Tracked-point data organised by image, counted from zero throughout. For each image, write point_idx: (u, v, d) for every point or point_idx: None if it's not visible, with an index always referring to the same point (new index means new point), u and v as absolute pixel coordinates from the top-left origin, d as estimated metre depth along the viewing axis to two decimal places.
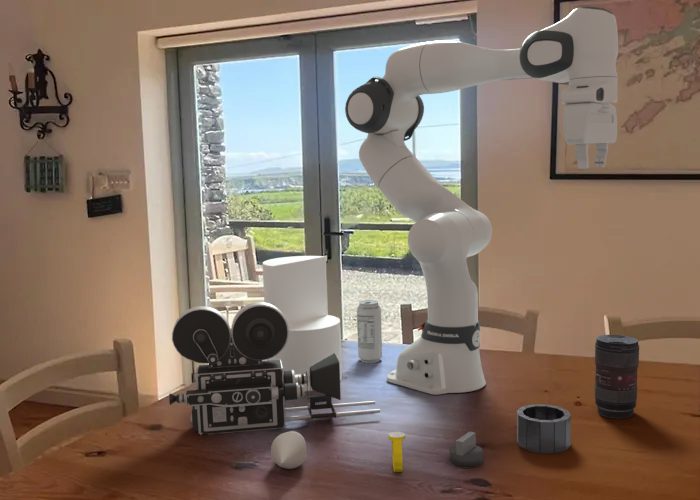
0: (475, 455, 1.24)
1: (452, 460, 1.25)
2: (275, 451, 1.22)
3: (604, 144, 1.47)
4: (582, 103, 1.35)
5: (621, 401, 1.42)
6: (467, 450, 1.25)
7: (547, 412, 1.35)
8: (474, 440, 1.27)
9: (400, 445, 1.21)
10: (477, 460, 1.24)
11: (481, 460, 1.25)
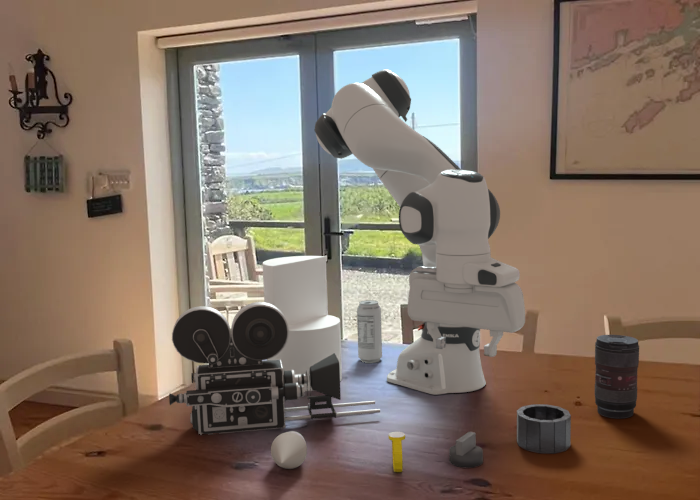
0: (475, 455, 1.24)
1: (452, 460, 1.25)
2: (275, 451, 1.22)
3: None
4: (512, 284, 1.18)
5: (621, 401, 1.42)
6: (467, 450, 1.25)
7: (547, 412, 1.35)
8: (474, 440, 1.27)
9: (400, 445, 1.21)
10: (477, 460, 1.24)
11: (481, 460, 1.25)
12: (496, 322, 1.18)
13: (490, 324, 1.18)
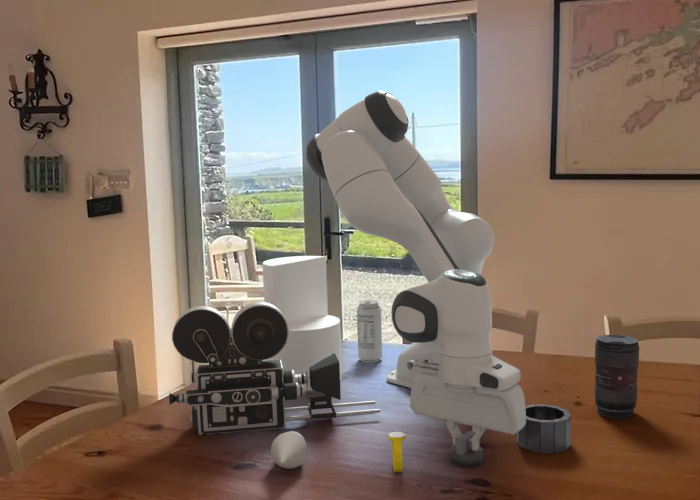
0: (475, 455, 1.24)
1: (452, 459, 1.25)
2: (275, 451, 1.22)
3: None
4: (514, 386, 1.20)
5: (621, 401, 1.42)
6: (467, 449, 1.25)
7: (547, 412, 1.35)
8: None
9: (400, 445, 1.21)
10: (477, 460, 1.24)
11: (481, 459, 1.25)
12: (497, 423, 1.20)
13: (492, 425, 1.20)
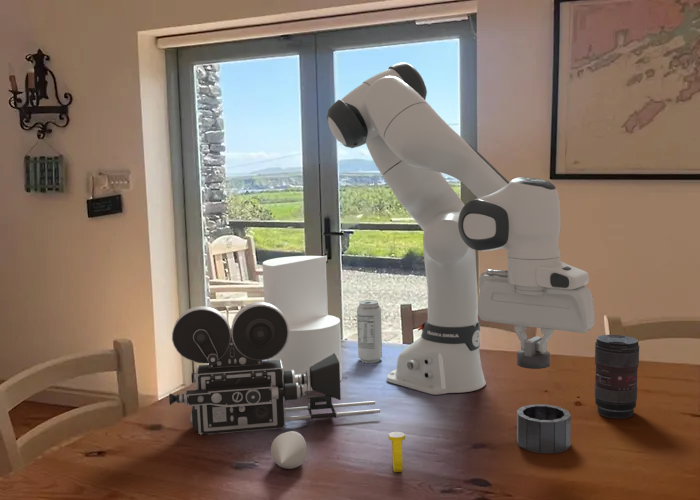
0: (543, 356, 1.27)
1: (520, 362, 1.29)
2: (275, 451, 1.22)
3: None
4: (583, 287, 1.24)
5: (621, 401, 1.42)
6: (535, 352, 1.29)
7: (547, 412, 1.35)
8: None
9: (400, 445, 1.21)
10: (545, 361, 1.27)
11: (549, 361, 1.28)
12: (567, 323, 1.23)
13: (561, 325, 1.24)
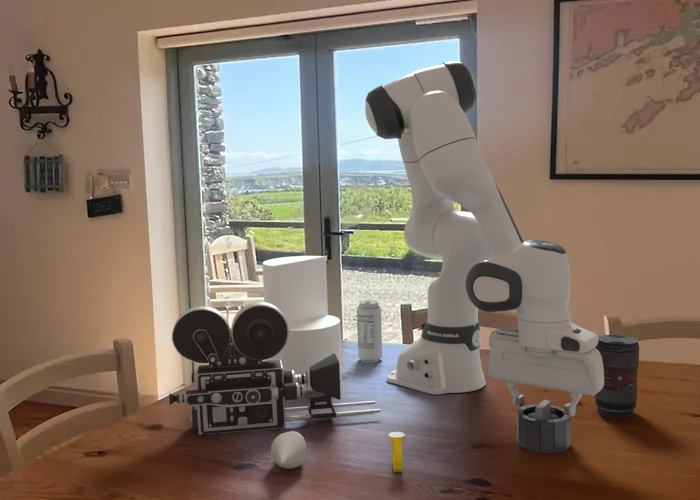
0: None
1: None
2: (275, 451, 1.22)
3: None
4: (592, 349, 1.26)
5: (621, 401, 1.42)
6: (545, 417, 1.30)
7: None
8: (549, 408, 1.33)
9: (400, 445, 1.21)
10: None
11: None
12: (577, 385, 1.26)
13: (571, 386, 1.26)
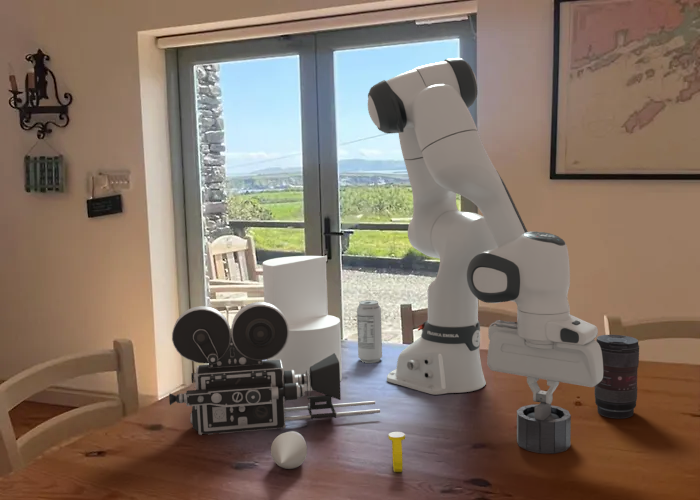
0: None
1: None
2: (275, 451, 1.22)
3: None
4: (592, 341, 1.26)
5: (621, 401, 1.42)
6: (544, 417, 1.30)
7: None
8: (550, 408, 1.32)
9: (400, 445, 1.21)
10: None
11: None
12: (576, 377, 1.25)
13: (570, 378, 1.26)
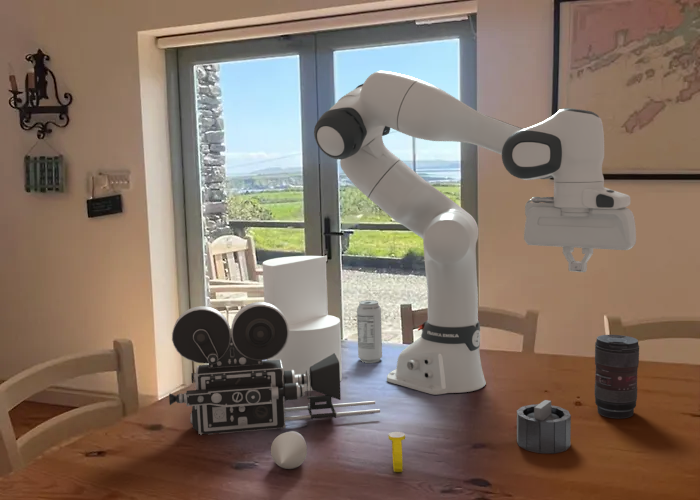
0: None
1: None
2: (275, 451, 1.22)
3: (573, 247, 1.40)
4: (625, 208, 1.34)
5: (621, 401, 1.42)
6: (544, 417, 1.30)
7: None
8: (550, 408, 1.32)
9: (400, 445, 1.21)
10: None
11: None
12: (611, 241, 1.33)
13: (605, 243, 1.34)
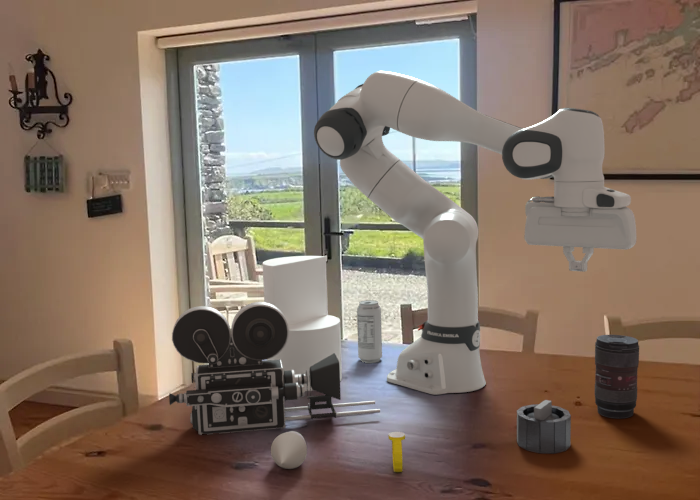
0: None
1: None
2: (275, 451, 1.22)
3: (573, 246, 1.40)
4: (625, 207, 1.34)
5: (621, 401, 1.42)
6: (544, 417, 1.30)
7: None
8: (550, 408, 1.32)
9: (400, 445, 1.21)
10: None
11: None
12: (611, 241, 1.33)
13: (606, 243, 1.34)
